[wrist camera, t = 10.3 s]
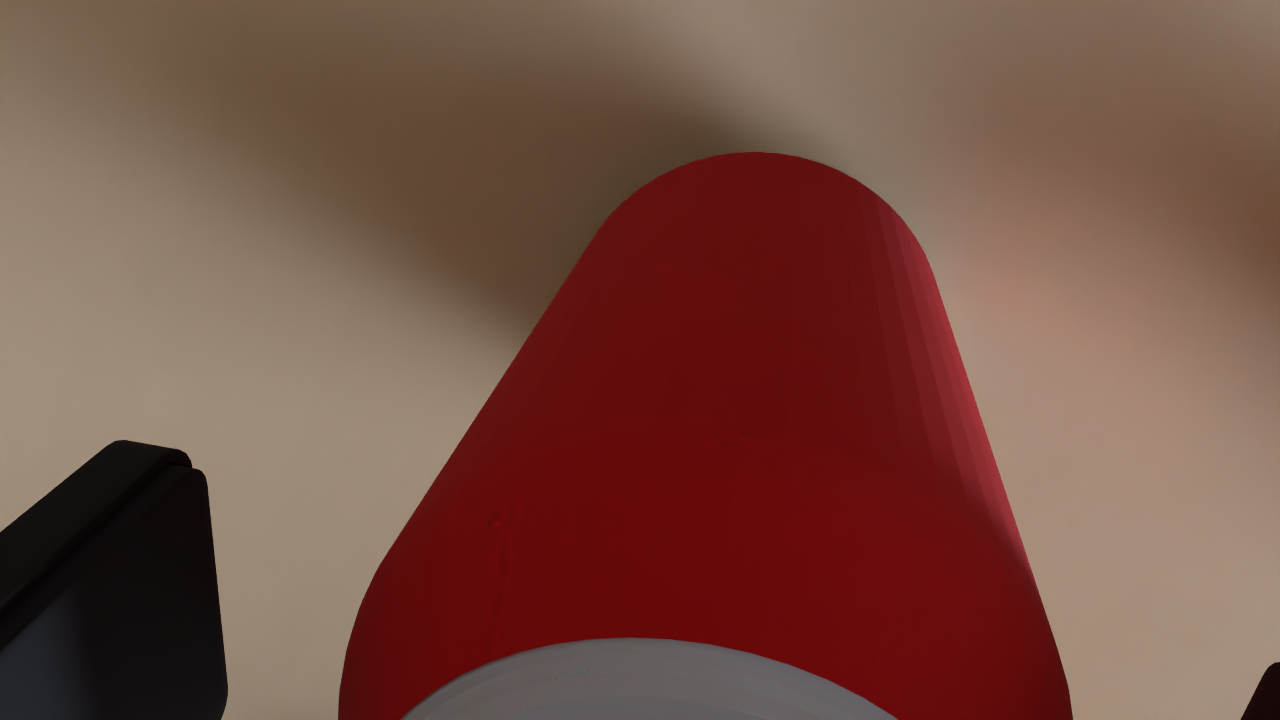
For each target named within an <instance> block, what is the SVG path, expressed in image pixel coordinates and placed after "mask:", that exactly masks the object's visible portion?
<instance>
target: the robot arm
mask: <svg viewBox="0 0 1280 720" xmlns="http://www.w3.org/2000/svg"><path fill="white" fill-rule="evenodd" d="M227 696H228V683H227V673H226V663H225V653H224V644H223V634H222V624H221V614H220V604H219V594H218V585H217V575H216V565H215V555H214V545H213V535H212V525H211V516H210V506H209V496H208V486H207V481H206V477H205V475H204V474H203V472H202V471H200V470H198V469H194V468H192V464H191V460H190V459H189V457H188V456H187V454H186V453H185V452H183V451H181V450H178V449H173V448H167V447H161V446H156V445H150V444H144V443H139V442H133V441H127V440H119V441H115V442H113V443H111V444H109V445H108V446H106V447H105V448H104V449H102V450H101V451H100V452H99V453H97V454H96V455H95V456H94V457H92V458H91V459H90V460H89V461H87V462H86V463H85V464H84V465H83V466H81V467H80V468H79V469H78V470H76V471H75V472H74V473H73V474H71V475H70V476H69V477H68V478H67V479H65V480H64V481H63V482H62V483H60V484H59V485H58V486H57V487H55V488H54V489H53V490H52V491H51V492H49V493H48V494H47V495H46V496H44V497H43V498H42V499H41V500H39V501H38V502H37V503H36V504H34V505H33V506H32V507H31V508H30V509H28V510H27V511H26V512H25V513H23V514H22V515H21V516H20V517H18V518H17V519H16V520H15V521H14V522H12V523H11V524H10V525H9V526H7V527H6V528H5V529H4V530H2V531H1V532H0V720H221V718H222V716H223V713H224V710H225V706H226V702H227ZM1241 720H1280V662H1277V663H1274V664H1272V665H1271V666H1269V667H1268V669H1267V670H1266V672H1265V673H1264V675H1263V677H1262V678H1261V680H1260V682H1259V684H1258V686H1257V688H1256V690H1255V692H1254V694H1253V696H1252V698H1251V700H1250V702H1249V704H1248V706H1247V708H1246V710H1245V712H1244V714H1243V716H1242V718H1241Z"/></svg>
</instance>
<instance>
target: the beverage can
mask: <svg viewBox="0 0 1280 720" xmlns="http://www.w3.org/2000/svg"><path fill="white" fill-rule="evenodd" d="M338 720H1073V716H1072V708H1071V701H1070V694H1069V689H1068V684H1067V680H1066V677H1065V673H1064V670H1063V666H1062V663H1061V659H1060V656H1059V652H1058V649H1057V646H1056V643H1055V640H1054V637H1053V634H1052V631H1051V628H1050V625H1049V622H1048V619H1047V616H1046V613H1045V610H1044V607H1043V604H1042V601H1041V598H1040V595H1039V592H1038V588H1037V585H1036V582H1035V579H1034V576H1033V573H1032V570H1031V567H1030V564H1029V561H1028V558H1027V555H1026V552H1025V549H1024V546H1023V543H1022V540H1021V537H1020V534H1019V531H1018V528H1017V525H1016V522H1015V519H1014V516H1013V513H1012V510H1011V507H1010V504H1009V501H1008V498H1007V495H1006V492H1005V489H1004V486H1003V483H1002V480H1001V477H1000V474H999V471H998V468H997V465H996V462H995V459H994V456H993V453H992V450H991V447H990V444H989V441H988V438H987V435H986V432H985V429H984V426H983V423H982V419H981V416H980V413H979V410H978V407H977V404H976V401H975V398H974V395H973V392H972V389H971V386H970V383H969V380H968V377H967V374H966V371H965V368H964V365H963V362H962V359H961V356H960V353H959V350H958V347H957V344H956V341H955V338H954V335H953V332H952V329H951V326H950V323H949V320H948V317H947V314H946V311H945V308H944V305H943V302H942V299H941V296H940V293H939V290H938V287H937V284H936V281H935V278H934V275H933V272H932V269H931V267H930V265H929V262H928V260H927V257H926V255H925V253H924V251H923V249H922V248H921V246H920V244H919V242H918V241H917V239H916V237H915V236H914V234H913V233H912V232H911V230H910V229H909V228H908V226H907V225H906V224H905V222H904V221H903V220H902V219H901V217H900V216H899V215H898V214H897V213H896V212H895V211H894V210H893V209H892V208H891V207H890V206H889V205H888V204H887V203H886V202H885V201H884V200H883V199H881V198H880V197H879V196H878V195H877V194H876V193H874V192H873V191H872V190H870V189H869V188H867V187H866V186H864V185H863V184H862V183H860V182H859V181H857V180H855V179H854V178H852V177H850V176H848V175H846V174H844V173H842V172H840V171H839V170H836V169H834V168H831V167H829V166H826V165H824V164H821V163H818V162H815V161H811V160H808V159H804V158H801V157H796V156H791V155H785V154H779V153H765V152H744V153H731V154H724V155H717V156H713V157H709V158H705V159H701V160H697V161H694V162H691V163H688V164H686V165H683V166H680V167H677V168H675V169H673V170H671V171H669V172H667V173H665V174H663V175H661V176H659V177H657V178H656V179H654V180H652V181H651V182H649V183H648V184H646V185H644V186H643V187H641V188H640V189H639V190H638V191H636V192H635V193H634V194H632V195H631V196H630V197H629V198H627V199H626V200H625V201H624V202H623V203H622V204H621V205H620V206H619V207H618V208H617V209H616V210H615V211H614V212H613V213H612V214H611V215H610V216H609V217H608V219H607V220H606V221H605V222H604V224H603V225H602V226H601V227H600V228H599V230H598V232H597V233H596V235H595V236H594V238H593V239H592V241H591V242H590V244H589V245H588V247H587V248H586V250H585V251H584V253H583V255H582V256H581V258H580V259H579V261H578V262H577V264H576V265H575V267H574V268H573V270H572V271H571V273H570V274H569V276H568V277H567V279H566V281H565V282H564V284H563V285H562V287H561V288H560V290H559V291H558V293H557V294H556V296H555V297H554V299H553V300H552V302H551V303H550V305H549V307H548V308H547V310H546V311H545V313H544V314H543V316H542V317H541V319H540V320H539V322H538V323H537V325H536V326H535V328H534V329H533V331H532V333H531V334H530V336H529V337H528V339H527V340H526V342H525V343H524V345H523V346H522V348H521V349H520V351H519V352H518V354H517V355H516V357H515V359H514V360H513V362H512V363H511V365H510V366H509V368H508V369H507V371H506V372H505V374H504V375H503V377H502V378H501V380H500V381H499V383H498V385H497V386H496V388H495V389H494V391H493V392H492V394H491V395H490V397H489V398H488V400H487V401H486V403H485V404H484V406H483V407H482V409H481V411H480V412H479V414H478V415H477V417H476V418H475V420H474V421H473V423H472V424H471V426H470V427H469V429H468V430H467V432H466V433H465V435H464V437H463V438H462V440H461V441H460V443H459V444H458V446H457V447H456V449H455V450H454V452H453V453H452V455H451V456H450V458H449V460H448V461H447V463H446V464H445V466H444V467H443V469H442V470H441V472H440V473H439V475H438V476H437V478H436V479H435V481H434V482H433V484H432V486H431V487H430V489H429V490H428V492H427V493H426V495H425V496H424V498H423V499H422V501H421V502H420V504H419V505H418V507H417V508H416V510H415V512H414V513H413V515H412V516H411V518H410V519H409V521H408V522H407V524H406V525H405V527H404V528H403V530H402V531H401V533H400V534H399V536H398V538H397V539H396V541H395V542H394V544H393V545H392V547H391V548H390V550H389V551H388V553H387V554H386V556H385V558H384V559H383V561H382V562H381V564H380V565H379V567H378V569H377V571H376V573H375V575H374V577H373V579H372V581H371V583H370V585H369V588H368V590H367V592H366V594H365V596H364V598H363V600H362V603H361V606H360V608H359V611H358V614H357V617H356V620H355V623H354V627H353V630H352V633H351V636H350V640H349V643H348V647H347V651H346V656H345V661H344V667H343V673H342V679H341V685H340V692H339V709H338Z"/></svg>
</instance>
